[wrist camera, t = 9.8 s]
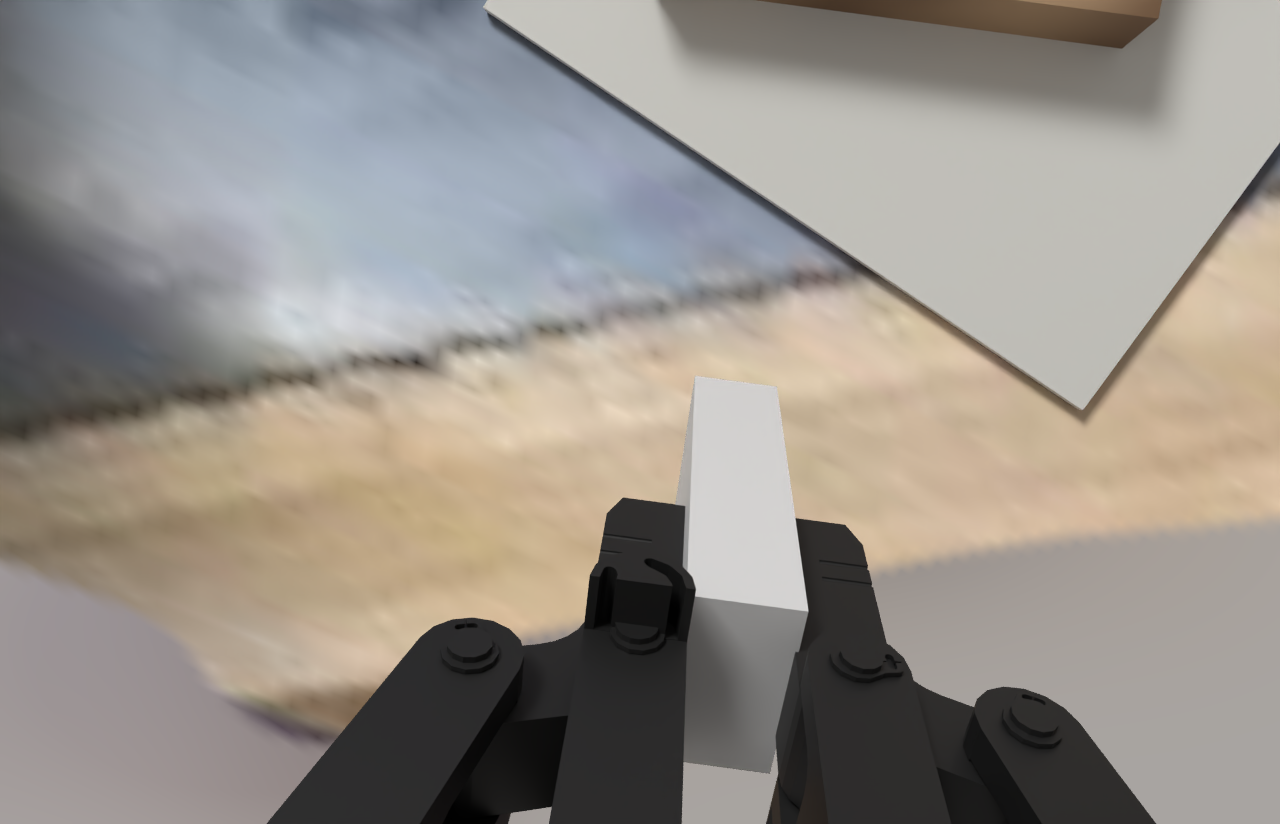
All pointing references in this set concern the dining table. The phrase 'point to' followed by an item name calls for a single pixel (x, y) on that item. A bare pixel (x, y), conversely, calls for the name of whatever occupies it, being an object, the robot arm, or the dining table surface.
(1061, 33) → the walnut board
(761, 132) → the felt mat
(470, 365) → the dining table surface
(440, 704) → the robot arm
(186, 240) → the dining table surface
